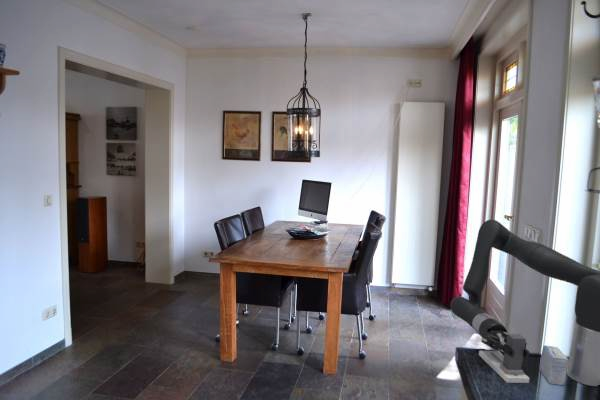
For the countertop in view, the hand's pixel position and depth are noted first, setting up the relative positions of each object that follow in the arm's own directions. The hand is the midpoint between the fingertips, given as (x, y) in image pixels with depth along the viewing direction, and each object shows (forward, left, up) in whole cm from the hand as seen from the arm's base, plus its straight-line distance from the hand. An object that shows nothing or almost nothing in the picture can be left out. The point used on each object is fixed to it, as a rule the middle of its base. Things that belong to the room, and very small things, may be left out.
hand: (520, 354), depth 124 cm
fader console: (0, -7, -8) cm, 11 cm away
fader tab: (0, -3, -7) cm, 7 cm away
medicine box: (-13, -2, -9) cm, 16 cm away
